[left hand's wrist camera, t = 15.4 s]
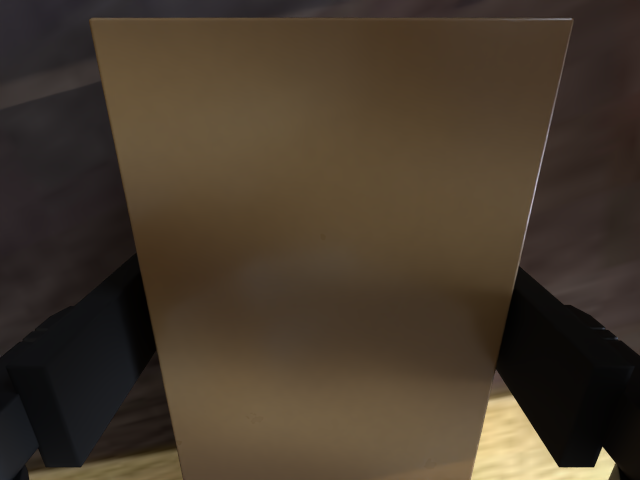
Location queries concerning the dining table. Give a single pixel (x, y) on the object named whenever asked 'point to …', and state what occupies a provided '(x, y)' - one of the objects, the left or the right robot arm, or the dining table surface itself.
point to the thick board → (329, 229)
